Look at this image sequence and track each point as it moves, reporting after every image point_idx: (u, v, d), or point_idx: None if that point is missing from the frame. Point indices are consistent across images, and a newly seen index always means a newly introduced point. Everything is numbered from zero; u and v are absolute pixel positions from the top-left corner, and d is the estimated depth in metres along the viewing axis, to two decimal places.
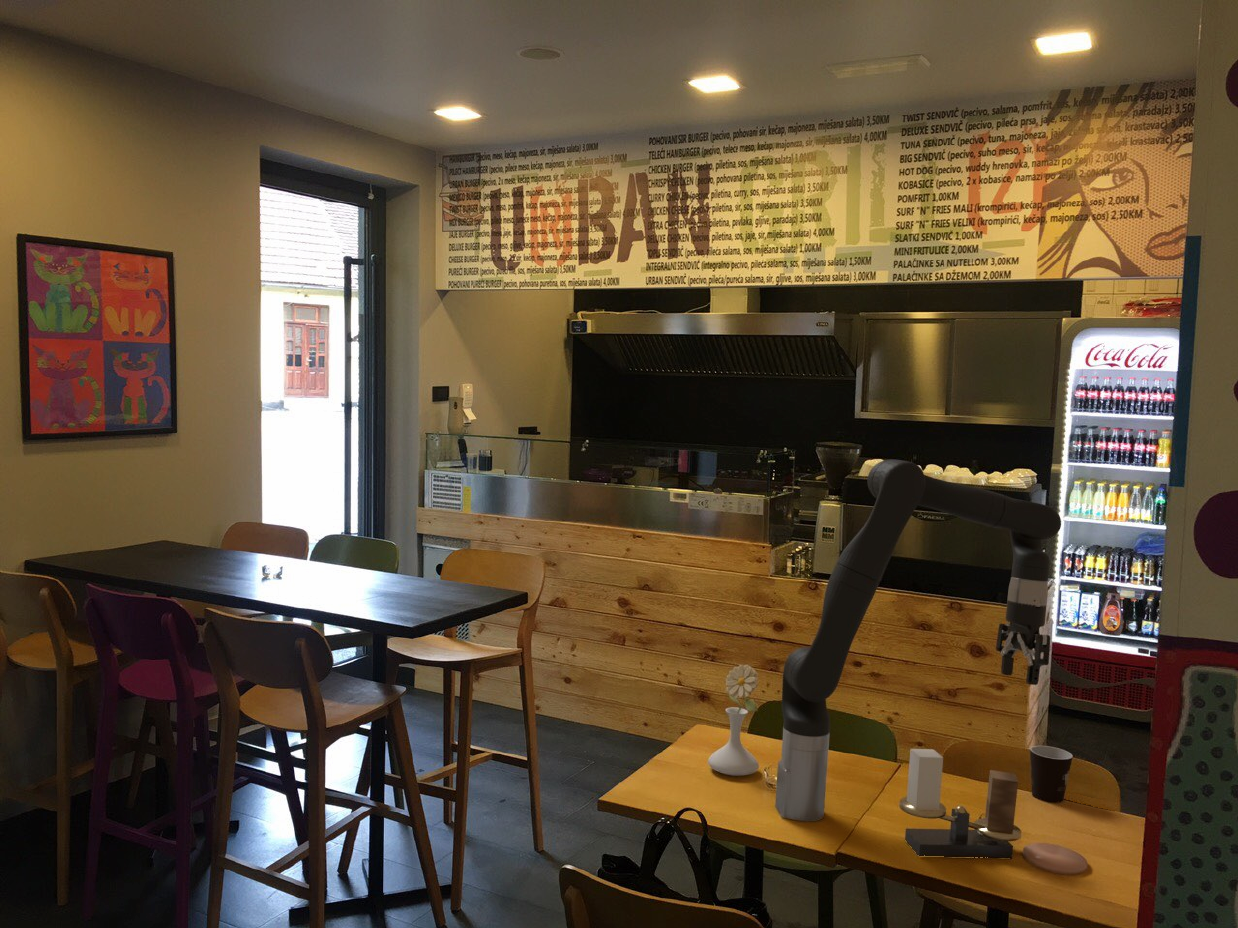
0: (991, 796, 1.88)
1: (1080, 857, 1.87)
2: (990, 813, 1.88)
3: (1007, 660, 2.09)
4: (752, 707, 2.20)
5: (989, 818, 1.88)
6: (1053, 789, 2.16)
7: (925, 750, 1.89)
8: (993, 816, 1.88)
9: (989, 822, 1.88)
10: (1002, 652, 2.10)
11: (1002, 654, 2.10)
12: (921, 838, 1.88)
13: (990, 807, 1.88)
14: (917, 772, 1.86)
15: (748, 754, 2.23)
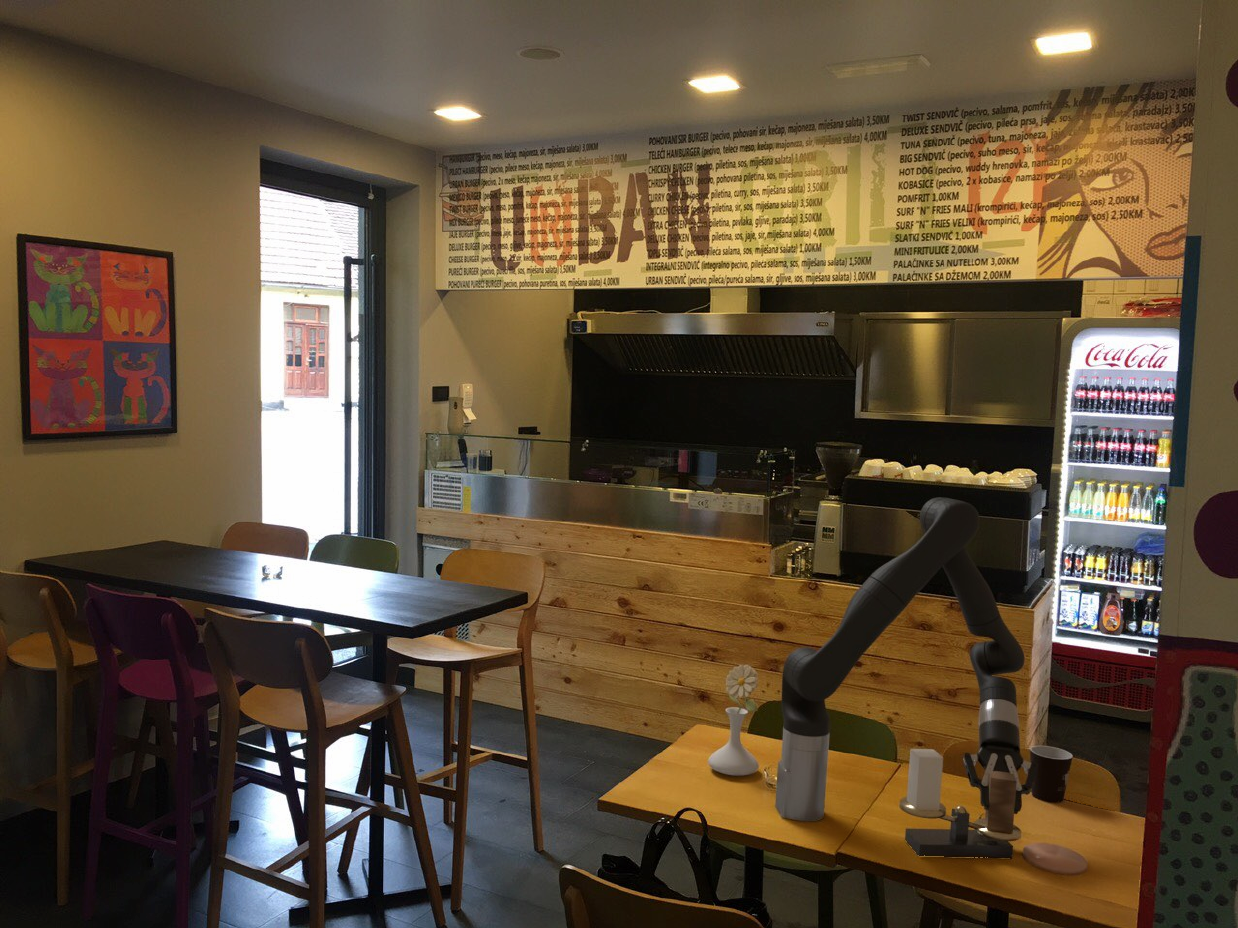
0: (990, 796, 1.88)
1: (1080, 857, 1.87)
2: (990, 813, 1.88)
3: (988, 792, 1.90)
4: (752, 707, 2.20)
5: (989, 818, 1.88)
6: (1053, 789, 2.16)
7: (925, 750, 1.89)
8: (993, 816, 1.88)
9: (989, 822, 1.88)
10: (985, 782, 1.91)
11: (985, 784, 1.90)
12: (921, 838, 1.88)
13: (989, 807, 1.88)
14: (917, 772, 1.86)
15: (748, 754, 2.23)
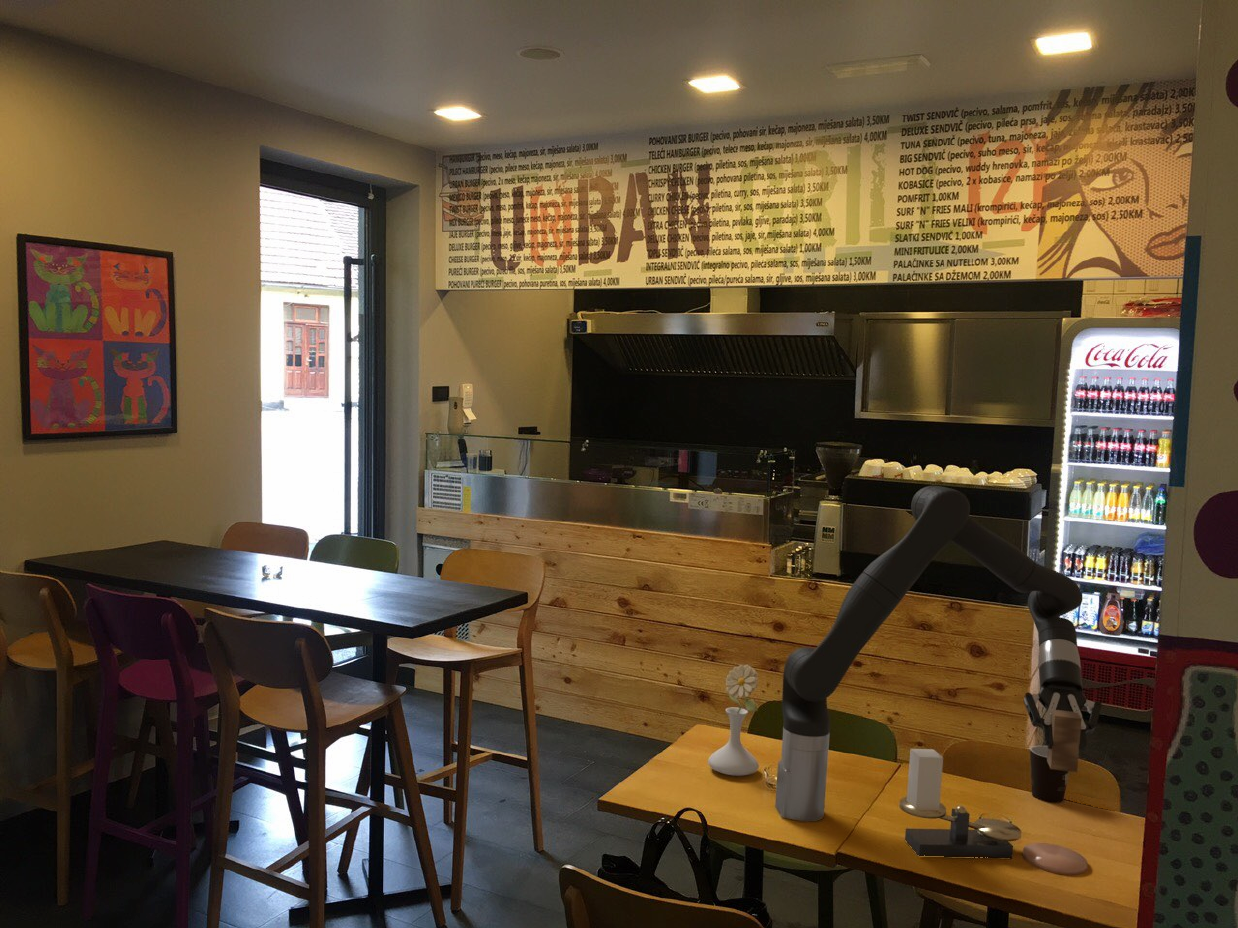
0: (1054, 734, 1.84)
1: (1080, 857, 1.87)
2: (1053, 752, 1.84)
3: (1051, 731, 1.86)
4: (752, 707, 2.20)
5: (1052, 757, 1.85)
6: (1053, 789, 2.16)
7: (925, 750, 1.89)
8: (1056, 755, 1.84)
9: (1052, 761, 1.85)
10: (1048, 721, 1.87)
11: (1048, 723, 1.87)
12: (921, 838, 1.88)
13: (1053, 746, 1.84)
14: (917, 772, 1.86)
15: (748, 754, 2.23)
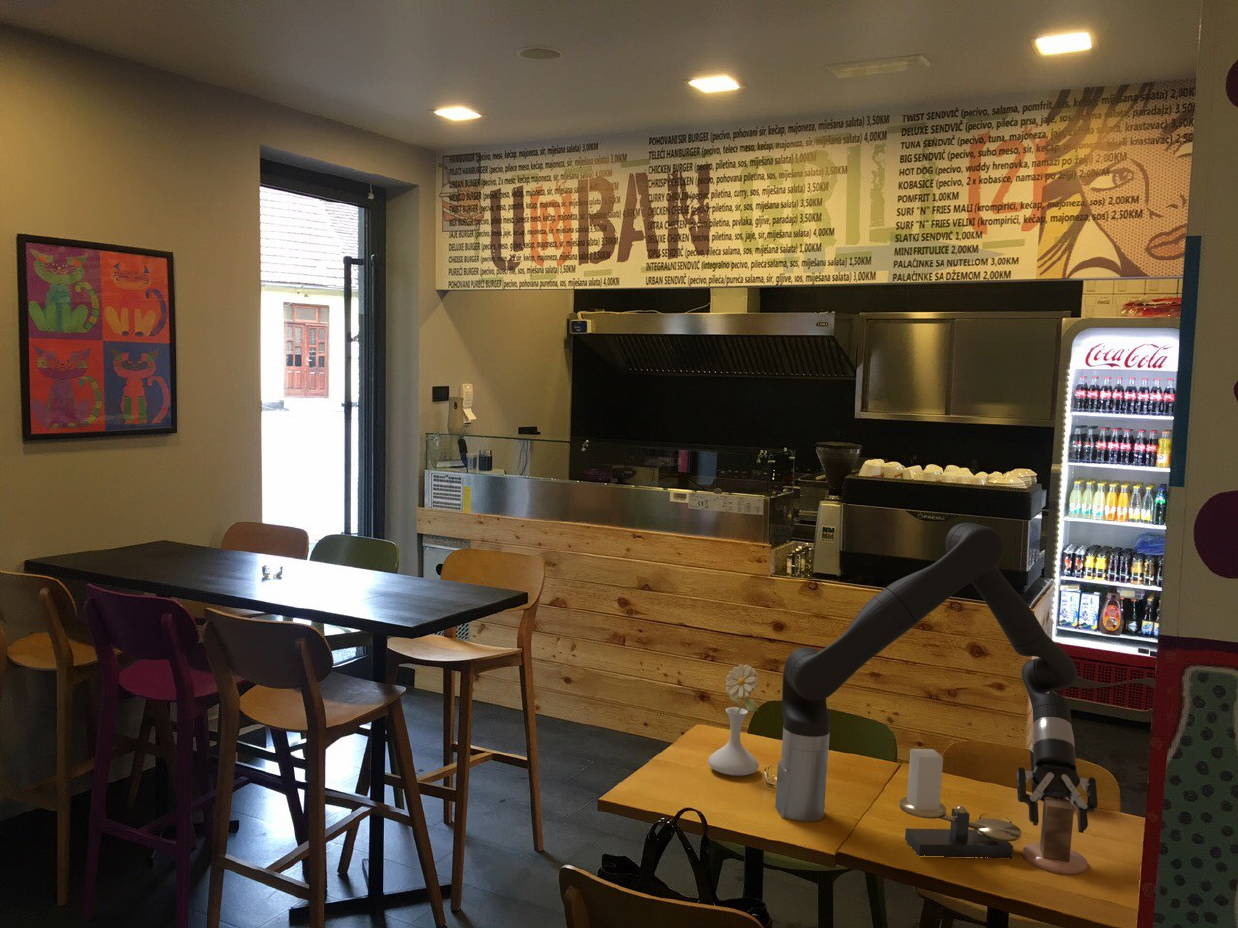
0: (1046, 824, 1.85)
1: (1080, 857, 1.87)
2: (1046, 841, 1.85)
3: None
4: (752, 707, 2.20)
5: (1045, 846, 1.85)
6: None
7: (925, 750, 1.89)
8: (1049, 844, 1.85)
9: (1045, 850, 1.85)
10: (1033, 797, 1.88)
11: (1034, 799, 1.88)
12: (921, 838, 1.88)
13: (1046, 835, 1.85)
14: (917, 772, 1.86)
15: (748, 754, 2.23)
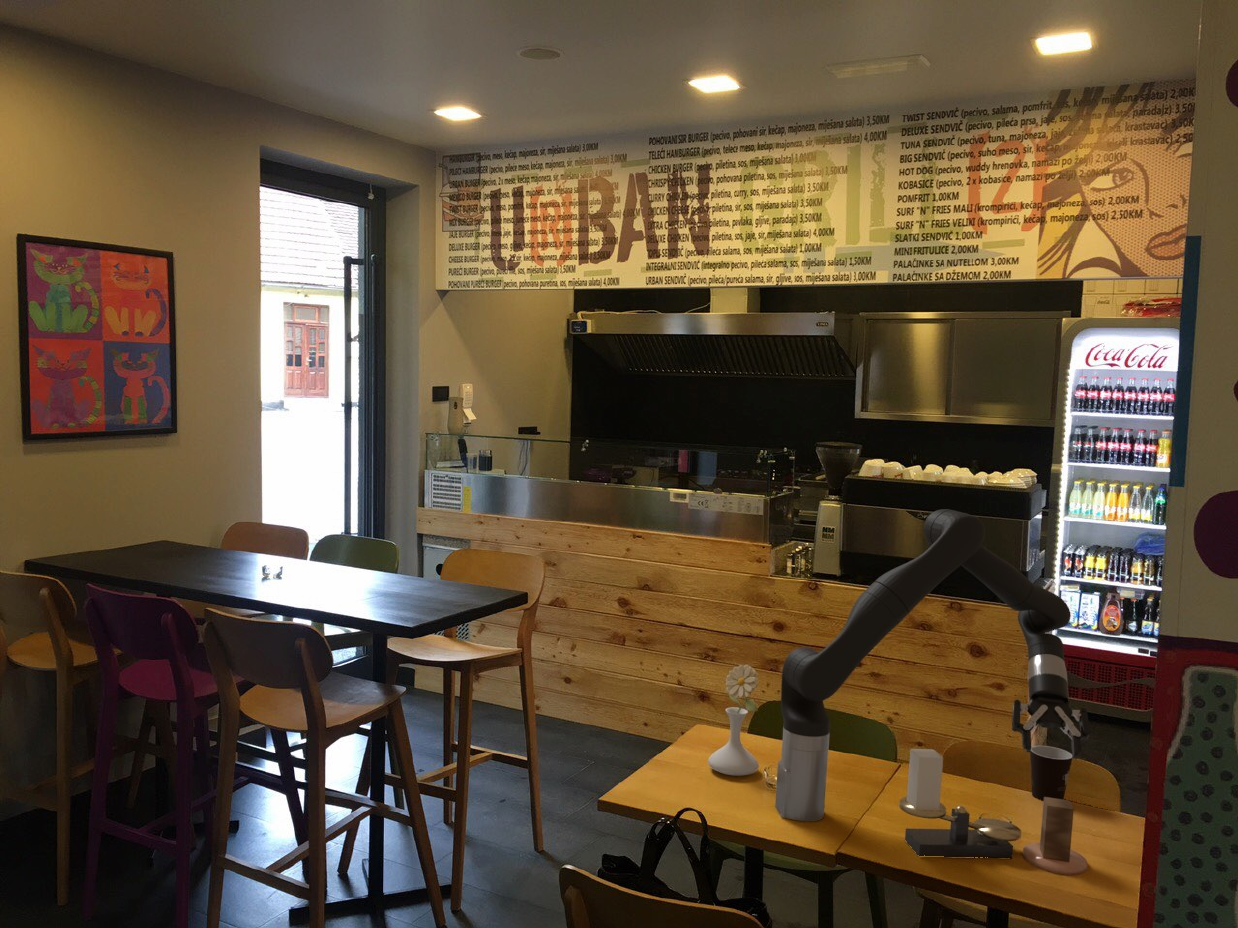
0: (1046, 824, 1.85)
1: (1080, 857, 1.87)
2: (1046, 841, 1.85)
3: None
4: (752, 707, 2.20)
5: (1045, 846, 1.86)
6: (1053, 789, 2.16)
7: (925, 750, 1.89)
8: (1049, 844, 1.85)
9: (1045, 850, 1.85)
10: (1027, 726, 2.00)
11: (1027, 728, 2.00)
12: (921, 838, 1.88)
13: (1045, 835, 1.85)
14: (917, 772, 1.86)
15: (748, 754, 2.23)
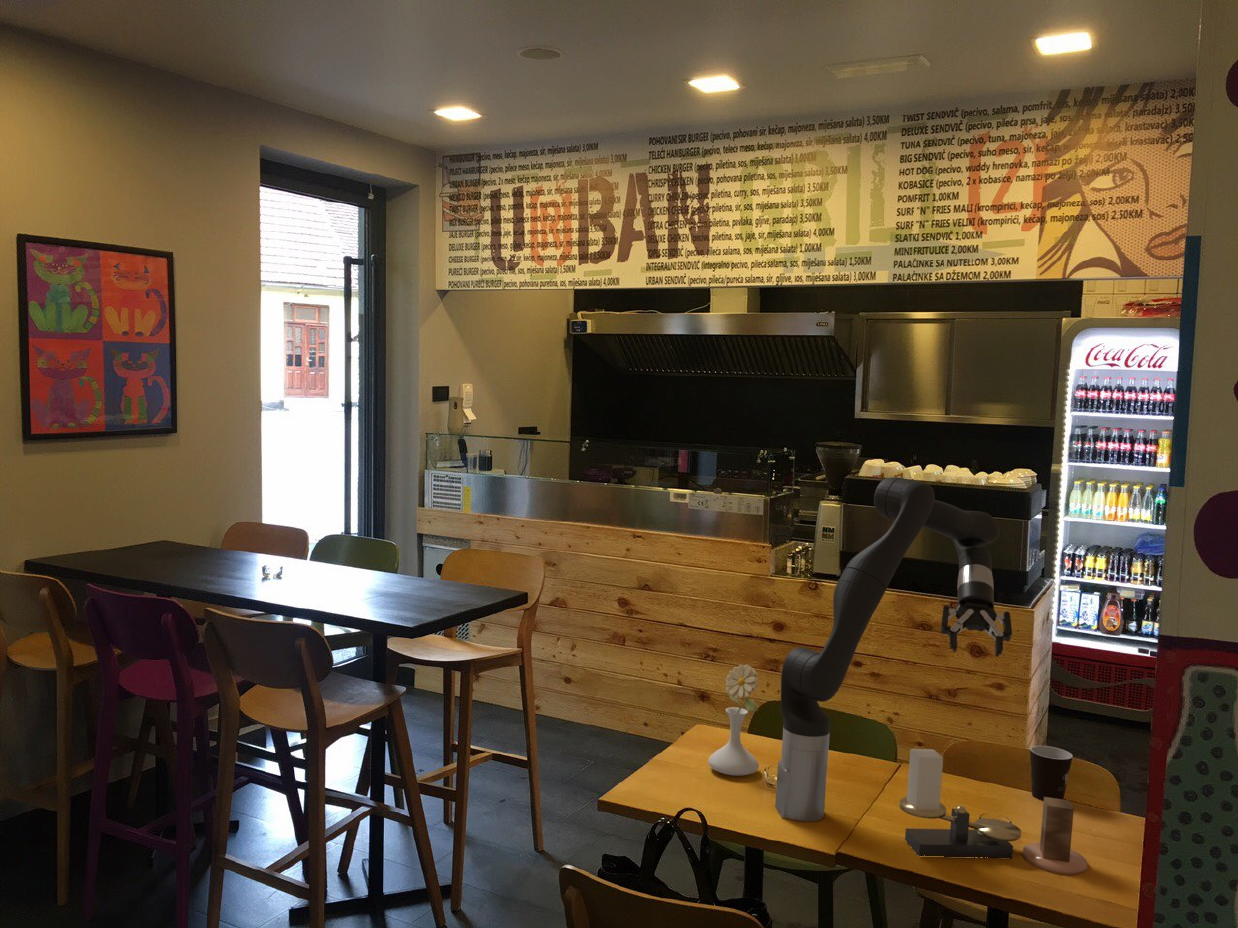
0: (1046, 824, 1.85)
1: (1080, 857, 1.87)
2: (1046, 841, 1.85)
3: (956, 636, 2.14)
4: (752, 707, 2.20)
5: (1045, 846, 1.86)
6: (1053, 789, 2.16)
7: (925, 750, 1.89)
8: (1049, 844, 1.85)
9: (1045, 850, 1.85)
10: (953, 628, 2.15)
11: (954, 630, 2.14)
12: (921, 838, 1.88)
13: (1045, 835, 1.85)
14: (917, 772, 1.86)
15: (748, 754, 2.23)
